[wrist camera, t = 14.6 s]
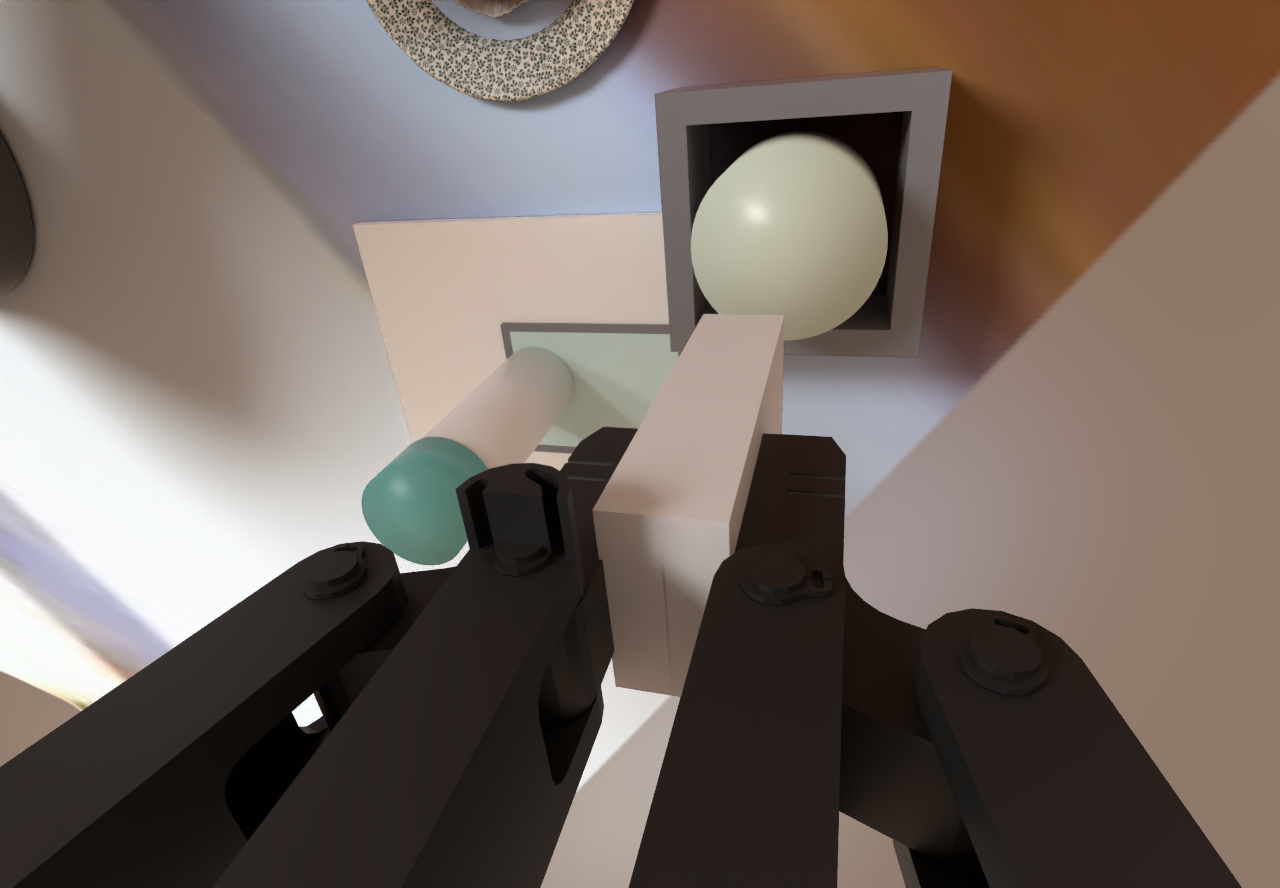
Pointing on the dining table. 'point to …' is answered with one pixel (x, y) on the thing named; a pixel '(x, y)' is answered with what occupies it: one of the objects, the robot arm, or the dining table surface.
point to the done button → (792, 233)
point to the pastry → (502, 45)
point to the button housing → (916, 92)
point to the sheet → (523, 312)
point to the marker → (465, 455)
